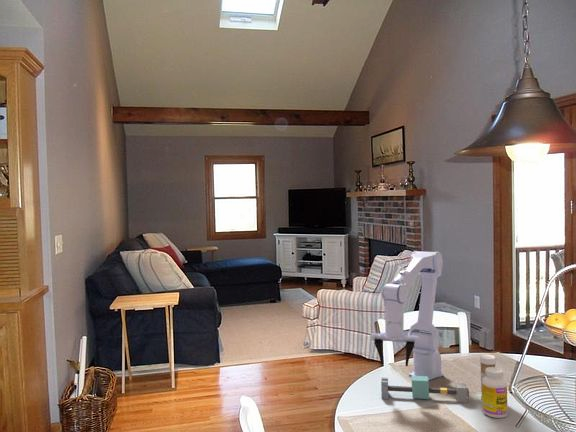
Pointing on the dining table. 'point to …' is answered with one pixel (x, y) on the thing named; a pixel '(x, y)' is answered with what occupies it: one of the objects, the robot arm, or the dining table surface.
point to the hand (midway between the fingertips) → (394, 364)
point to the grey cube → (462, 393)
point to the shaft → (431, 390)
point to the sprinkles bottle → (486, 364)
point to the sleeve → (420, 387)
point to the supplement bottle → (494, 393)
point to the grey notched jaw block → (384, 388)
